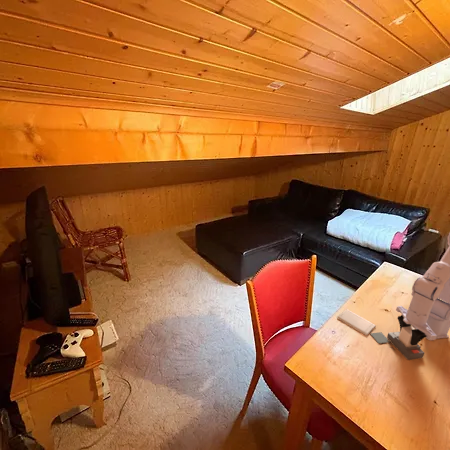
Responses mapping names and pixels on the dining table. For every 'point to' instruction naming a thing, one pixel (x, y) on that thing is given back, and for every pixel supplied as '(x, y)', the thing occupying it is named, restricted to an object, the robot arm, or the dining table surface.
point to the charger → (406, 336)
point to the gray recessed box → (407, 352)
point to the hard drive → (356, 322)
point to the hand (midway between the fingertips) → (408, 339)
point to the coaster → (380, 337)
